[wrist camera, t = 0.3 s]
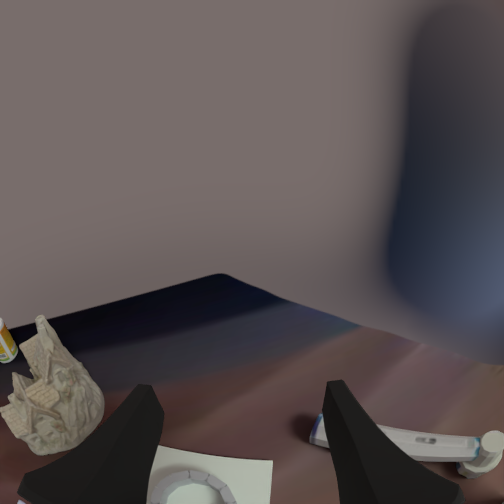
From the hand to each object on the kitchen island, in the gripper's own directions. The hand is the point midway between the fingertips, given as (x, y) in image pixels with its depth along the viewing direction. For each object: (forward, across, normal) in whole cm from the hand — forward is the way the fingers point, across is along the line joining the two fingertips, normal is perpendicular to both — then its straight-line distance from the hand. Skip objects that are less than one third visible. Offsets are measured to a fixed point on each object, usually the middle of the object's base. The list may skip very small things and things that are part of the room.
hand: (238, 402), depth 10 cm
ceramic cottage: (+10, +29, +19) cm, 36 cm away
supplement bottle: (+17, +47, +18) cm, 53 cm away
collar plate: (0, +6, +20) cm, 21 cm away
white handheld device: (+4, -17, +22) cm, 28 cm away
